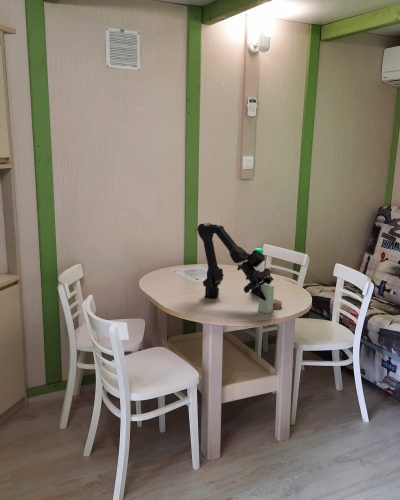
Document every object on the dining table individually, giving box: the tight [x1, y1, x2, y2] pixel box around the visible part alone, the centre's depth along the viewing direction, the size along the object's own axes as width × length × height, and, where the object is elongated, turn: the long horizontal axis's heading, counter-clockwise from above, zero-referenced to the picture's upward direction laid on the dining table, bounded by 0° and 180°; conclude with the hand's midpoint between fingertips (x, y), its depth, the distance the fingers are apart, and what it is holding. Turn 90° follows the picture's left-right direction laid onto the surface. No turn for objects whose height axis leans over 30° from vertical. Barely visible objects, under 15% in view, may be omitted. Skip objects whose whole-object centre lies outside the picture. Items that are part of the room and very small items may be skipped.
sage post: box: [257, 283, 275, 314], centre depth 229 cm, size 5×5×13 cm
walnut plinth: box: [273, 298, 283, 310], centre depth 237 cm, size 8×8×2 cm
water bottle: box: [249, 247, 266, 295], centre depth 256 cm, size 7×7×25 cm
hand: (268, 298), depth 228 cm, fingers closed on sage post, 5 cm apart
